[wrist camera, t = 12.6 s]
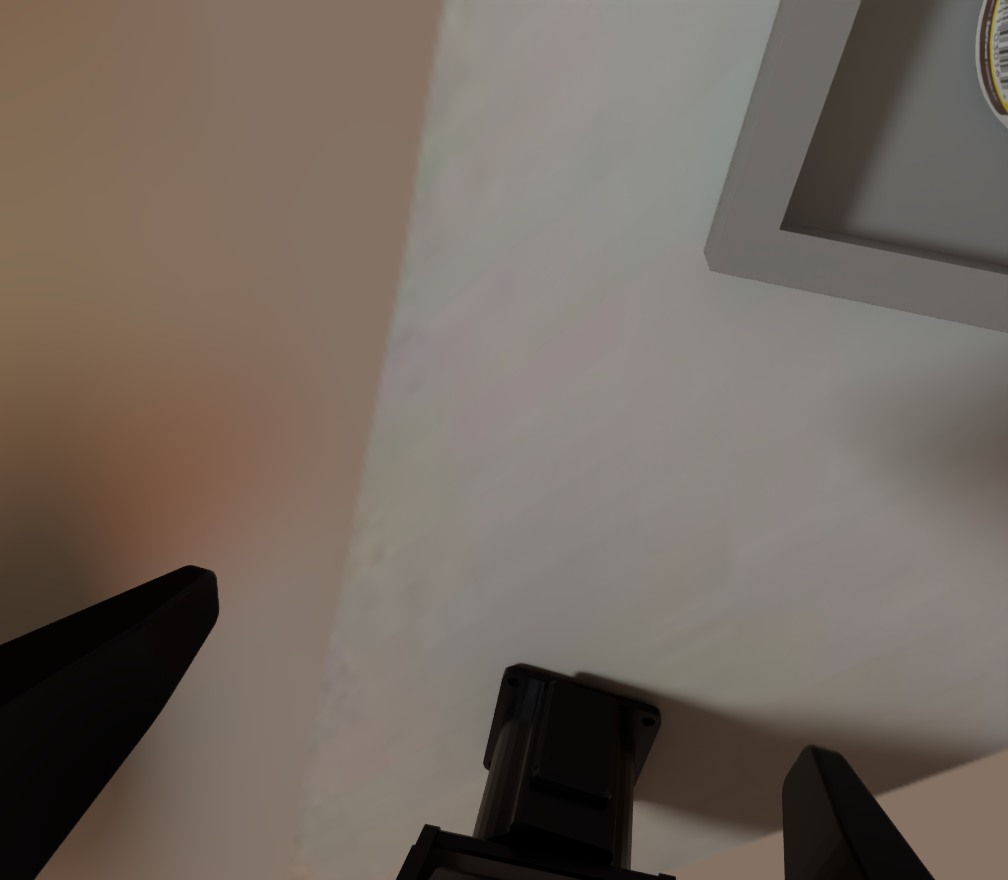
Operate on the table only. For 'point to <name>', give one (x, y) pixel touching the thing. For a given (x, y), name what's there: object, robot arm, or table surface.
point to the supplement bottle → (993, 56)
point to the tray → (872, 163)
